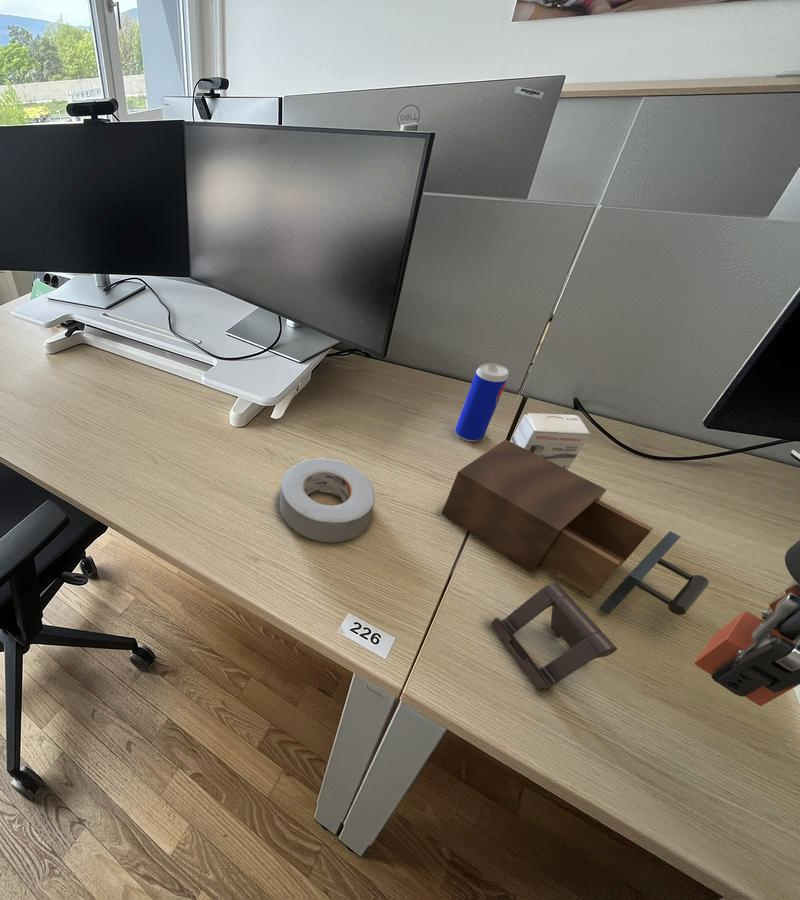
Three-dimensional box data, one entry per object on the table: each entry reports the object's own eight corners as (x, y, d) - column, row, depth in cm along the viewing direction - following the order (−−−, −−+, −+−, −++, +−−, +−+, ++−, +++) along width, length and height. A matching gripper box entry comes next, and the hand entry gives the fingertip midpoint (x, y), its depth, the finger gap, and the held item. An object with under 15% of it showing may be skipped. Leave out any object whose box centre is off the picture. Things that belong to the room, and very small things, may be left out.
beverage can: (484, 444, 90) (513, 378, 81) (455, 441, 92) (480, 375, 82) (480, 428, 94) (507, 363, 84) (453, 425, 95) (476, 361, 86)
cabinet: (575, 533, 73) (606, 489, 67) (531, 573, 68) (560, 530, 62) (486, 481, 83) (505, 439, 76) (441, 513, 78) (458, 471, 71)
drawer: (691, 596, 63) (730, 561, 57) (653, 644, 58) (691, 611, 53) (548, 514, 75) (569, 479, 70) (507, 549, 70) (527, 514, 65)
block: (778, 675, 41) (818, 650, 38) (760, 706, 39) (801, 683, 36) (712, 635, 44) (745, 610, 41) (693, 663, 42) (726, 639, 39)
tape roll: (374, 488, 83) (380, 467, 80) (364, 553, 73) (369, 532, 69) (290, 470, 88) (292, 450, 85) (269, 529, 78) (270, 508, 74)
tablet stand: (487, 625, 62) (510, 590, 57) (539, 613, 63) (566, 577, 58) (536, 691, 56) (566, 659, 50) (593, 677, 57) (630, 643, 51)
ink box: (507, 482, 82) (534, 429, 75) (498, 463, 86) (522, 411, 78) (561, 485, 81) (594, 432, 73) (549, 466, 85) (579, 413, 77)
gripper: (996, 657, 25) (767, 761, 36) (1029, 532, 30) (822, 655, 41) (799, 564, 30) (650, 680, 41) (858, 471, 35) (714, 595, 46)
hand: (738, 667), depth 41 cm, fingers closed on block, 4 cm apart
